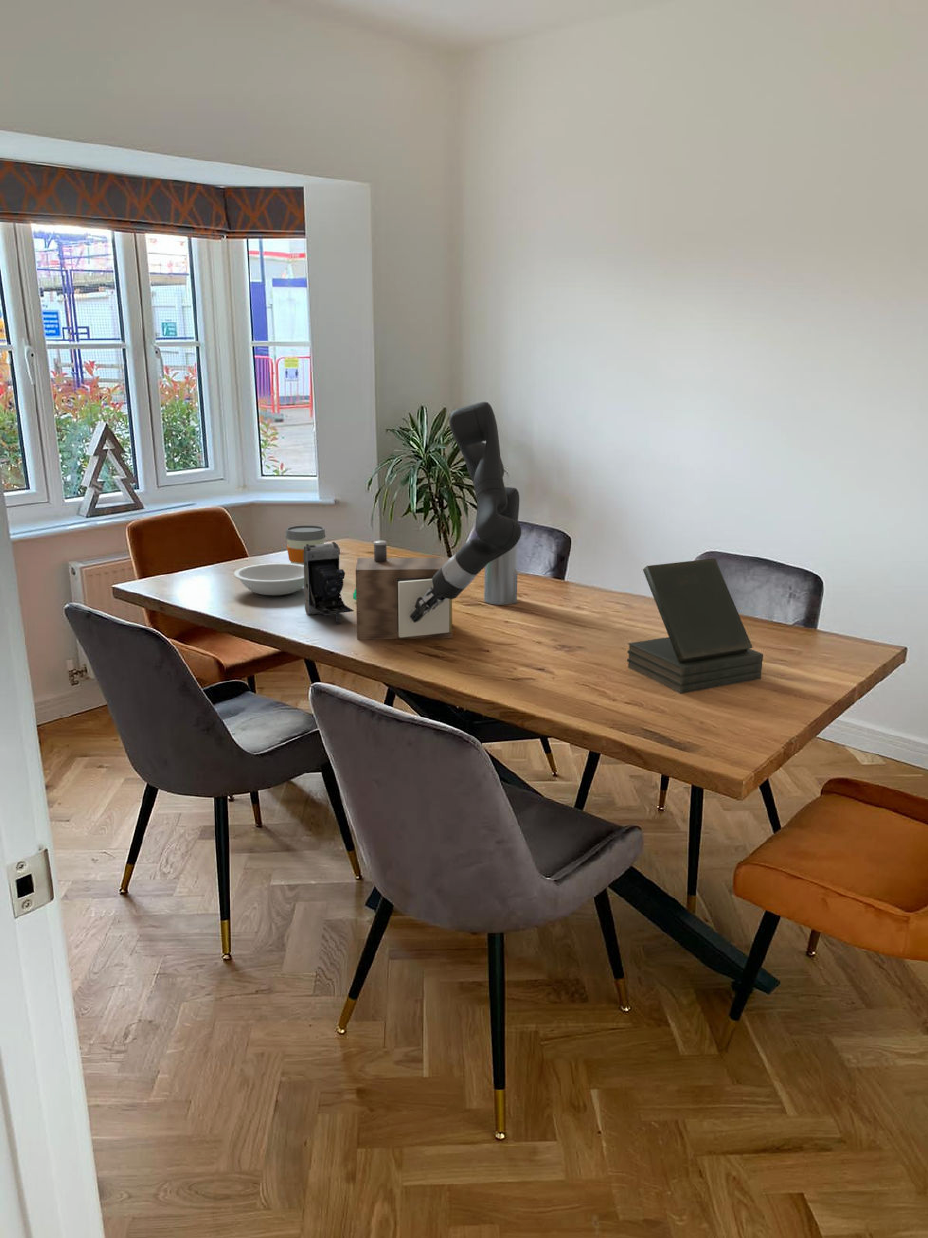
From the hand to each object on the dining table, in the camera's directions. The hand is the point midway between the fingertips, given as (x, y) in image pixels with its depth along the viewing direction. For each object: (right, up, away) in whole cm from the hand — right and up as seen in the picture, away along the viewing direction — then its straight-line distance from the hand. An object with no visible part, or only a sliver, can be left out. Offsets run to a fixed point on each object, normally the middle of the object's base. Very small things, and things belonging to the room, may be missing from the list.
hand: (413, 619), depth 237 cm
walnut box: (-3, -3, +14) cm, 14 cm away
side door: (+3, -4, +4) cm, 6 cm away
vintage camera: (-24, 0, +25) cm, 34 cm away
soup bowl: (-44, +7, +51) cm, 67 cm away
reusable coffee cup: (-38, +14, +74) cm, 85 cm away
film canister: (-9, +15, +11) cm, 21 cm away
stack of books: (+65, -13, -17) cm, 68 cm away
